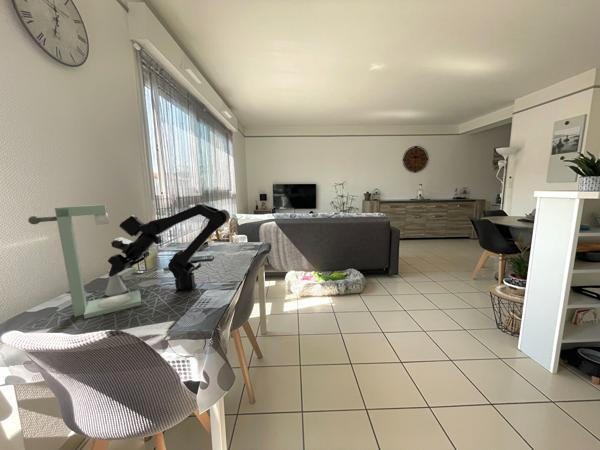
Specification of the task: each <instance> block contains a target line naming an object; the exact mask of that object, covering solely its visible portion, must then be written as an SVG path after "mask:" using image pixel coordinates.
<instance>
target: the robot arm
mask: <svg viewBox="0 0 600 450" xmlns="http://www.w3.org/2000/svg"><path fill="white" fill-rule="evenodd" d="M230 215H231V214H230V213H229V211H228V210H227V209H224V208H223V209H222V208H221V209H218V208H215V207H213V206H209V205H206V204H205V203H200V204H199V203H198V204H196V205H195V206H193V207H190V208H187V209H184V210H182V211H180V212H178V213H176V214H173V215H170V216H165V217H162V218H158V219H153V220H151V221H149V222H148V223H144V222H142V220H140V219H139V218H138V217H137V216H136V215H135V214H134V215H130V216H129V217H128V218H126V219H125V220H123V221H122V222H121V223H120V224H119V225H118V227H119V228H120V229H121V230H123V231H124V232H125V233H127V234H128V235H129V236H130V237H137V238H135V240H134V241H132V240H130V239H128V238H125V237H122V236H121V237H116V238H115V239H114V240H113V241H111V243H110V244H111V247H112V248H114V249H118V250H120V251H121V253H122V254H124V255H125V256H123V255H122V254H120V253H117V254H114V255H112V256H110V257H108V260H107V262H108V263H109V264H111V267H110V269H111V270H110V269H109V270H110V272H108V276H110V277H112V276H113V275H115V274H117V273H118V274H119V273H121V272H123V271H125V270H127V269H129V268H131V267H132V266H133V267H134V266H135V265H137V264H138V263H140V262H143V261H144V260H145V259H147V258H148V257H149V256H150V248H151V246H152V245H154V244H156V245H159V244H160V243H162V241H163V240H162V236H159V235H160V234H163V233H165V232H167V231H169V230H170V229H172V228H173V227H175V225H177V224H179V223H182V222H185V221H187V220H190V219H191V218H194V217H196V216H202V217H204V218H206V219H207V220H208V221H207V223H206V225H205V227H204V228H203V229H202V230H201V232H199V233H198V235H197V236H196V237H195V238H194V239H193V240H192V242H191V243H190V244H189V245H188V246H187V247H186V249H184V250H182V249H180V250H178V251H177V252H175V254H174V255H173V256H172V258H171V259H169V260H168V261H169V263H168V264H167V265H168V270H169V271H170V272H171V273H172V275H173V277H174V283H175V284H174V285H175V292H177V293H178V292H191V291H193V290H194V289H195V288H196V287H197V286H198V285H197V283H196V282H195V281H196V280H195V272H194V271H195V268H196V266H195V265H194V264H193V263H191V261H192V260H193V257H194V255H196V253H197V252H198V251H199V250H200V249H201V247H202V246H203V245H204V244H205V243H206V242H207V241H208V240H209V239H210V237H211V236H212V235H213V234H214V233H215V232H216V231H217V230H218V229H220V228H221V227H222V226H223V225H225V224H227V222H228V221H229V220H230V219H231V216H230Z"/></svg>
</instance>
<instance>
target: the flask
mask: <svg viewBox="0 0 600 450" xmlns="http://www.w3.org/2000/svg"><path fill="white" fill-rule="evenodd" d="M110 270H111V268H110V269H108V270H107V272H108V273H109V272H110ZM108 276H109V275H108ZM127 291H128V288H127V287H126V284H124V283H123V281H122V279H121V278H120V275H119V273H117V274H115V275H113V276H112V277H110V276H109V278H108V283H107V287H106V290H105V293H104V295H105V296H107V297H112V296H117V295H121V294H125V293H126V292H127Z"/></svg>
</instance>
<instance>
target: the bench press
mask: <svg viewBox="0 0 600 450" xmlns="http://www.w3.org/2000/svg"><path fill="white" fill-rule="evenodd" d="M54 211H55V216H43V217H42V216H41V217H38V216H37V215H31V216H29V218H27V220H28V223H29V224H31V225H38V224H39V223H44V222H56V221H57V222H56V223H57V226H58V227H57V228H58V233H59V238H60V244H61V249H62V255H63V259H64V266H65V271H66V278H67V282H68V288H69V293H70V298H71V304H72V308H73V309H72V310H73V314H74V317H75V318H76V317H80V316H84V317H83V318H84V320H85V319H89V318H93V317H97V316H102V315H105V314H109V313H114V312H118V311H122V310H125V309H130V308H133V307H138V306H142V295H141V290H136V291H131V292H130V291H129V292H127V293H126V292H125V293H122V294H119V295H116V296H107V297H103V298H98V299H94V300H89V301H87V297H86V290H85V286H84V280H83V274H82V269H81V263H80V256H79V251H78V247H77V245H78V244H77V241H76V234H75V229H74V223H73V217H78V216H79V217H81V216H93V215H94V220H95V221H94V222H95V225H97V226H99V225H109V224H110V223H109V222H110V221H109V214H108V212H107V206H106V204H94V205H93V204H91V205H76V206H73V205H72V206H58V207H54Z"/></svg>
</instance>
